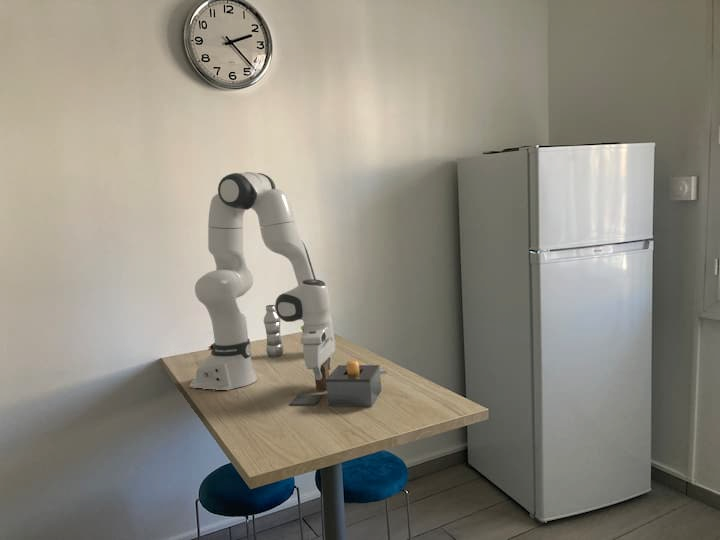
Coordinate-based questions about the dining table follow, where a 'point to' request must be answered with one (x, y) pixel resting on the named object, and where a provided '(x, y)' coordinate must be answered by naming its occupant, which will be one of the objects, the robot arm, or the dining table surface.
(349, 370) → the egg
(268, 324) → the silver metal bottle
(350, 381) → the box
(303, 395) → the pad
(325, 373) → the wood grain block
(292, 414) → the dining table surface
